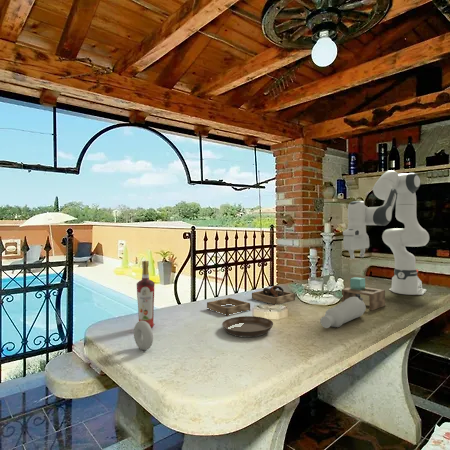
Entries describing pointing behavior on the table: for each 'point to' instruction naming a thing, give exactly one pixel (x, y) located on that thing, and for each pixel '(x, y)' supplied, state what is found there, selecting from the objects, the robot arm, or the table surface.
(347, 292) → the tan hollow wooden block
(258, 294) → the tray
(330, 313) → the bottle
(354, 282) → the teal stemmed block
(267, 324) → the plant saucer
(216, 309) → the tray
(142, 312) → the liquor
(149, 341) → the donut
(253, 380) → the table surface
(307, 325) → the table surface
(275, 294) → the pottery mug
